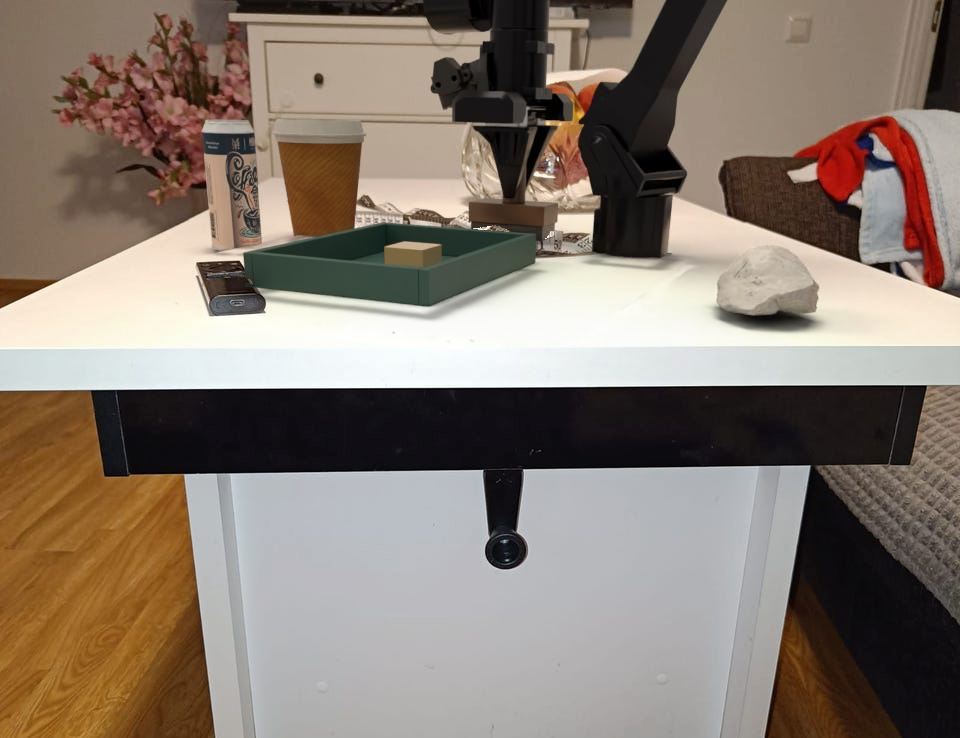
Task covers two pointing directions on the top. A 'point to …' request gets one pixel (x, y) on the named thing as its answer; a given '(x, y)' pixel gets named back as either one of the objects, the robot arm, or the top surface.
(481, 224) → the scrub brush
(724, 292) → the grey stone
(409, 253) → the tan square block
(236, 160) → the coffee drink can
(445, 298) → the tray
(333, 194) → the disposable coffee cup
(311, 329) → the top surface
